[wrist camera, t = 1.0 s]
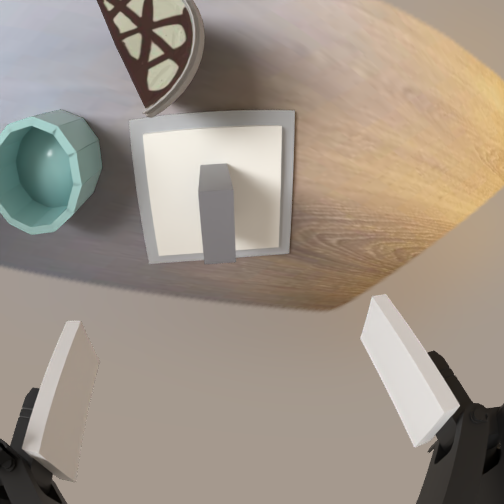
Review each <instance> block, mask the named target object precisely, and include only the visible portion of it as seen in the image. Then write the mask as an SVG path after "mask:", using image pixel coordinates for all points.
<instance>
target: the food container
mask: <svg viewBox="0 0 504 504" xmlns="http://www.w3.org/2000/svg"><path fill="white" fill-rule="evenodd" d="M97 2H98V4H99V7H100V9H101V12H102V14H103V16H104V19H105V21H106V24H107V26H108V28H109V31H110V33H111V36H112V38H113V41H114V43H115V45H116V47H117V50H118V52H119V54H120V56H121V58H122V60H123V62H124V64H125V66H126V68H127V70H128V72H129V75H130V77H131V79H132V81H133V83H134V85H135V87H136V90H137V92H138V94H139V96H140V98H141V100H142V102H143V104H144V106H145V108H146V109H145V110H144V112H143V114H145V115H146V116H147V117H150V118H152V117H154V116H156V115H157V114H159V113H160V112H162V111H163V110H165V109H166V108H167V107H168V106H170V105H171V104H172V103H173V102H174V101H175V100H176V99H177V98H178V97H179V96H180V95H181V94H182V93H183V92H184V91H185V89H186V88H187V86H188V85H189V84H190V82H191V81H192V79H193V77H194V75H195V73H196V72H197V70H198V67H199V64H200V61H201V59H202V54H203V49H204V38H205V32H204V26H203V20H202V18H201V15H200V12H199V10H198V8H197V6H196V5H195V3H194V1H193V0H97Z"/></svg>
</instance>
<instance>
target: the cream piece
mask: <svg viewBox="0 0 504 504" xmlns="http://www.w3.org/2000/svg"><path fill="white" fill-rule="evenodd" d="M143 144H144V154H145V164H146V172H147V181H148V189H149V196H150V204H151V211H152V217H153V224H154V230H155V237H156V243H157V248H158V254H159V256H166V255H180V254H193V253H203V254H204V264H217V263H231V262H236V250H248V249H261V248H275V247H279V224H280V192H281V150H282V126H280V125H244V126H220V127H203V128H190V129H178V130H168V131H159V132H150V133H144V134H143Z"/></svg>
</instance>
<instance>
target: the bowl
mask: <svg viewBox="0 0 504 504" xmlns="http://www.w3.org/2000/svg"><path fill="white" fill-rule="evenodd" d="M101 170H102V160H101V153H100V145H99V139H98V138H97V136H96V135H95V134H94V132H93V131H92V130H91V128H90V127H89V125H88V124H87V123H86V121H85V120H84V118H82V117H79V116H77V115H74V114H72V113H69V112H66V111H64V110H61V109H60V110H56V111H52V112H48V113H44V114H40V115H36V116H32V117H29V118H26V119H22V120H19V121H16V122H13V123H11V124H8V125H7V126H6V128H5V129H4V130H3V131H2V133H1V134H0V213H1V214H2V215H3V217H4V218H5V219H6V221H7V222H8V223H9V224H10V225H12V226H14V227H16V228H18V229H20V230H22V231H24V232H26V233H28V234H31V235H34V234H42V233H50V232H55V231H56V230H57V229H58V228H59V227H60V226H61V225H62V224H64V223H65V222H66V221H67V220H68V219H69V218H70V217H71V216H72V215H73V214H74V213H75V212H76V211H77V210H78V209H79V208H80V207H81V205H82V204H83V203H84V202H85V201H86V200H87V199H88V198H89V197H90V196H91V195H92V194H93V193H94V190H95V187H96V184H97V181H98V179H99V176H100V173H101Z"/></svg>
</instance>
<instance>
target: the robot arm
mask: <svg viewBox="0 0 504 504" xmlns="http://www.w3.org/2000/svg"><path fill="white" fill-rule="evenodd" d="M360 339H361V341H362V343H363V344H364V346H365V348H366V350H367V352H368V354H369V356H370V358H371V360H372V362H373V364H374V366H375V368H376V370H377V372H378V374H379V376H380V378H381V379H382V381H383V383H384V385H385V387H386V389H387V391H388V394H389V396H390V398H391V399H392V402H393V404H394V405H395V408H396V410H397V412H398V414H399V416H400V418H401V420H402V422H403V424H404V427H405V429H406V431H407V433H408V435H409V437H410V439H411V442H412V444H413V446H414V447H417V446H420V445H422V444H424V443H427V442H429V441H430V440H431V439H432V438H433V437H434V436H435V435H436V436H437V439H438V440H437V441H436V442H435V443H434V444H433V445H432V446H431V447H430V449H429V451H428V452H431V451H432V450H433V449H434V451H433V455H432V458H431V462H430V465H429V468H428V472H427V474H426V478H425V481H424V484H423V487H422V489H421V492H420V495H419V498H418V500H417V503H416V504H504V404H503V405H502V406H501V407H494V408H485V407H484V406H483V405H480V404H479V403H473V402H472V401H471V399H470V398H469V396H468V395H467V393H466V392H465V390H464V388H463V387H462V385H461V384H460V382H459V381H458V379H457V377H456V376H454V373H453V371H452V370H451V369H450V368H449V365H448V364H447V362H446V361H445V359H444V358H443V357H442V356H441V355H439V354H438V353H437V352H435V351H431V352H428V353H427V352H426V351H425V349H424V347H423V346H422V344H421V343H420V342H419V340H418V339H417V337H416V336H415V334H414V333H413V331H412V330H411V328H410V327H409V325H408V324H407V323H406V321H405V320H404V318H403V317H402V315H401V314H400V313H399V311H398V310H397V308H396V307H395V306H394V304H393V303H392V302H391V300H390V299H389V297H388V296H387V295H386V294H383V295H377V296H372V298H371V302H370V306H369V310H368V313H367V318H366V321H365V324H364V328H363V331H362V335H361V338H360ZM99 364H100V360H99V358H98V357H97V354H96V352H95V350H94V348H93V346H92V344H91V342H90V340H89V338H88V336H87V334H86V331H85V329H84V327H83V325H82V322H81V321H67V322H66V324H65V326H64V328H63V331H62V333H61V335H60V338H59V340H58V342H57V345H56V348H55V350H54V352H53V355H52V357H51V360H50V362H49V365H48V368H47V370H46V373H45V376H44V379H43V381H42V384H41V387H40V389H39V388H32V389H31V391H30V392H29V393H28V394H27V396H26V397H25V400H24V403H23V406H22V408H23V409H22V410H21V412H20V417H19V418H18V421H17V425H16V428H15V431H14V435H13V438H12V442H11V445H10V446H9V445H8V444H7V443H6V442H5V441H3V440H2V439H0V504H67V502H66V501H65V499H64V498H63V496H62V494H61V493H60V491H59V489H58V487H57V486H56V484H55V482H54V481H53V480H52V475H53V474H54V475H55V476H57V477H58V478H59V479H62V480H67V481H72V482H76V477H77V470H78V463H79V457H80V451H81V445H82V440H83V434H84V429H85V423H86V419H87V414H88V409H89V405H90V400H91V396H92V391H93V387H94V383H95V379H96V375H97V371H98V367H99ZM500 446H501V447H500Z"/></svg>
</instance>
